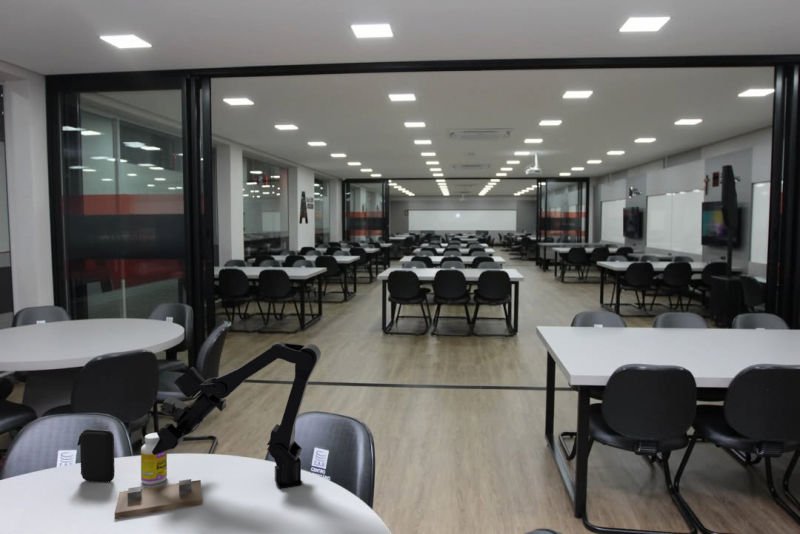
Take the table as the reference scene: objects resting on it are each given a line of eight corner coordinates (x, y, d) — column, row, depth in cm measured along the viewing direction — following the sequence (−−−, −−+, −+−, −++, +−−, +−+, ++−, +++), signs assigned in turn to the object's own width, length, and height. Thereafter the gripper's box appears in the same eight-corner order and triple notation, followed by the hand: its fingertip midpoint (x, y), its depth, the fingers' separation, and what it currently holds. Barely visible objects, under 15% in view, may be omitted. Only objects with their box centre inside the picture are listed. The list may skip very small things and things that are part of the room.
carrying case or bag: (74, 482, 151) (73, 430, 151) (82, 477, 154) (81, 426, 154) (110, 485, 150) (109, 432, 149) (117, 480, 153) (116, 428, 152)
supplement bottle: (157, 486, 149) (156, 440, 149) (135, 484, 150) (135, 438, 150) (172, 476, 156) (171, 432, 155) (151, 474, 157) (151, 430, 156)
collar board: (200, 485, 150) (200, 471, 150) (202, 504, 139) (202, 489, 139) (119, 497, 143) (119, 482, 142) (114, 519, 132) (114, 502, 131)
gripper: (192, 380, 161) (156, 416, 162) (164, 398, 142) (123, 438, 143) (219, 407, 161) (182, 442, 162) (194, 428, 143) (152, 468, 143)
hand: (160, 447), depth 153 cm, fingers open, 9 cm apart
